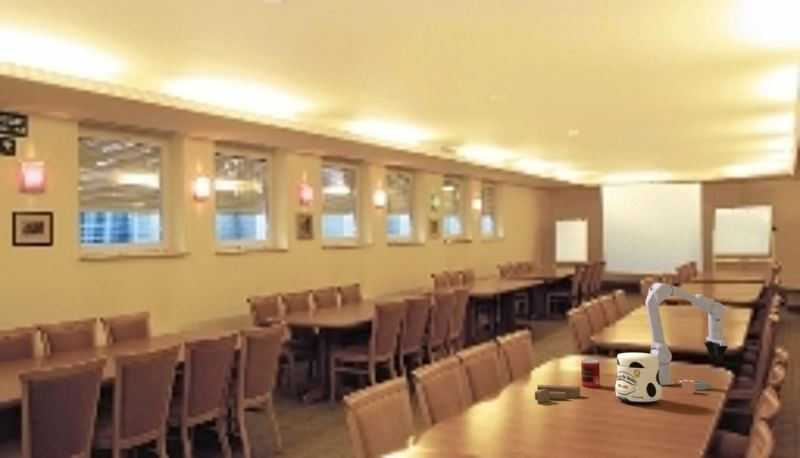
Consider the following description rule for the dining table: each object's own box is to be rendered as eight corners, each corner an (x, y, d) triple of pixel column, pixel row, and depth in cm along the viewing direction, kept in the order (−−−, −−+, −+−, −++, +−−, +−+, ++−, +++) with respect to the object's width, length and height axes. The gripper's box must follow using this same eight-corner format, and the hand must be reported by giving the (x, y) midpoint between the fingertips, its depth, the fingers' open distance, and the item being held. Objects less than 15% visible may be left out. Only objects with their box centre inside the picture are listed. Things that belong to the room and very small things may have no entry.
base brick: (694, 391, 295) (694, 383, 295) (685, 387, 302) (685, 380, 302) (709, 390, 296) (709, 382, 296) (700, 387, 303) (700, 379, 303)
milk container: (611, 404, 273) (610, 357, 273) (620, 395, 288) (619, 351, 289) (658, 408, 265) (657, 360, 265) (664, 398, 280) (663, 353, 281)
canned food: (598, 384, 310) (597, 359, 310) (601, 388, 302) (601, 362, 302) (580, 384, 311) (579, 359, 311) (583, 388, 303) (582, 362, 303)
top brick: (681, 392, 291) (681, 380, 291) (685, 391, 294) (685, 378, 294) (691, 394, 288) (691, 381, 288) (695, 392, 291) (694, 379, 291)
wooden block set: (535, 382, 292) (579, 383, 289) (535, 395, 292) (580, 397, 289) (534, 390, 276) (581, 391, 272) (534, 405, 276) (581, 406, 272)
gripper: (732, 331, 303) (732, 362, 303) (717, 326, 317) (717, 357, 317) (715, 331, 303) (716, 362, 303) (701, 327, 317) (702, 357, 317)
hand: (716, 359), depth 310 cm, fingers open, 7 cm apart
